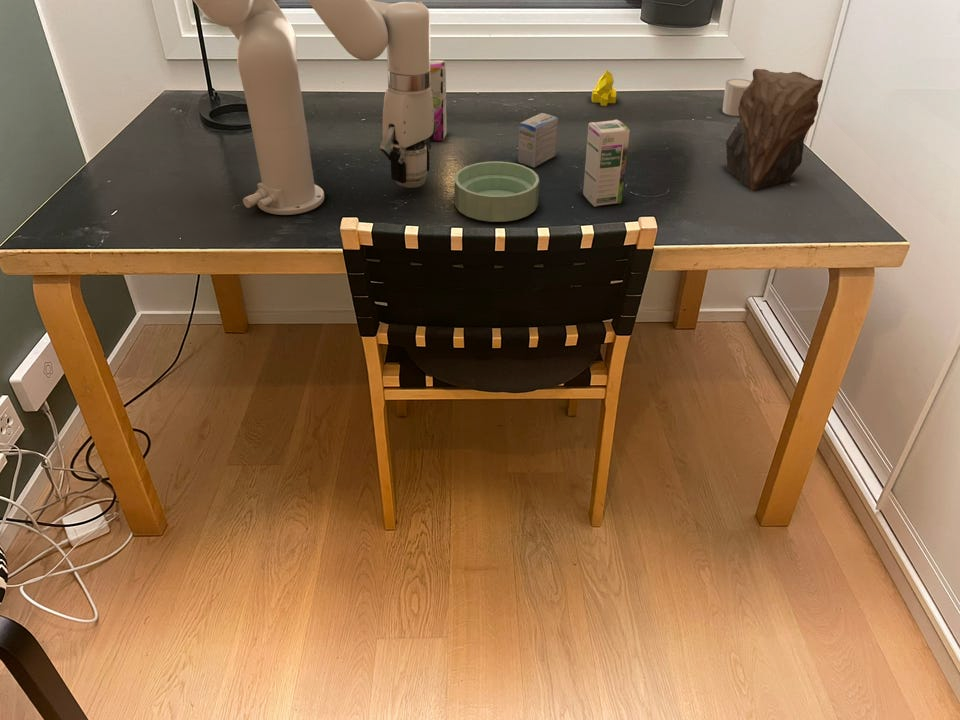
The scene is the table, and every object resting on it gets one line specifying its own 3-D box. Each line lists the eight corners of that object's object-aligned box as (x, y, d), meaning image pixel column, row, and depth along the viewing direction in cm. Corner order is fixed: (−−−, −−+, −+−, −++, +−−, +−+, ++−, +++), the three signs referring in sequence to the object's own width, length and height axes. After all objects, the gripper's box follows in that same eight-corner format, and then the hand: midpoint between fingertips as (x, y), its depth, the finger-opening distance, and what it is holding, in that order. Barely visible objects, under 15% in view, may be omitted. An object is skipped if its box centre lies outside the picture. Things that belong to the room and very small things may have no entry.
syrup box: (593, 207, 141) (601, 132, 132) (581, 194, 145) (588, 120, 137) (621, 203, 142) (631, 129, 133) (608, 190, 147) (617, 117, 138)
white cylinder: (714, 109, 184) (719, 80, 179) (736, 105, 186) (742, 76, 182) (732, 118, 179) (738, 88, 174) (755, 114, 181) (761, 85, 177)
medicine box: (539, 151, 162) (541, 112, 157) (556, 156, 160) (559, 116, 155) (517, 163, 157) (518, 122, 152) (534, 168, 155) (536, 127, 150)
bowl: (508, 232, 133) (509, 204, 129) (438, 210, 140) (437, 182, 136) (552, 201, 143) (554, 174, 140) (485, 181, 150) (485, 155, 147)
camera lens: (389, 185, 143) (388, 145, 138) (400, 173, 147) (399, 134, 143) (421, 190, 142) (421, 150, 137) (430, 177, 146) (430, 138, 142)
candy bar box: (395, 140, 167) (389, 64, 157) (399, 132, 171) (394, 57, 161) (444, 142, 166) (442, 66, 156) (447, 134, 170) (445, 59, 160)
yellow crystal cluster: (614, 95, 192) (618, 64, 187) (615, 106, 185) (619, 74, 181) (591, 94, 192) (594, 63, 187) (591, 105, 186) (595, 73, 181)
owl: (718, 166, 156) (739, 67, 144) (772, 160, 159) (796, 62, 147) (750, 191, 147) (775, 87, 135) (807, 184, 149) (836, 82, 137)
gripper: (422, 65, 140) (423, 157, 151) (360, 86, 129) (365, 184, 140) (454, 73, 137) (453, 166, 148) (393, 96, 125) (396, 195, 136)
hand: (410, 174), depth 144 cm, fingers closed on camera lens, 6 cm apart
